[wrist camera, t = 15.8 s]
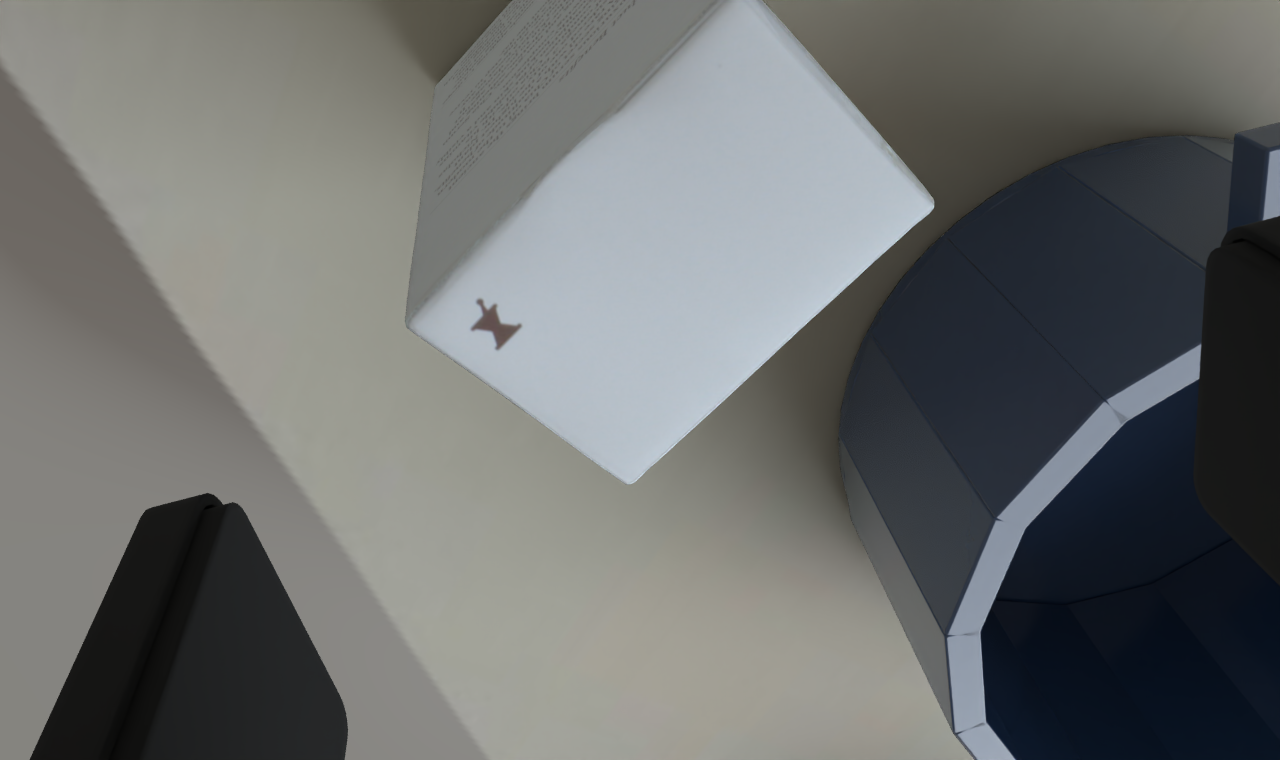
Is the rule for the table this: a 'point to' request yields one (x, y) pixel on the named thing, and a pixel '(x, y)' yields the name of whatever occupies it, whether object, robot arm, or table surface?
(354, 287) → the table surface
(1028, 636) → the pot
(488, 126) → the cosmetic box
